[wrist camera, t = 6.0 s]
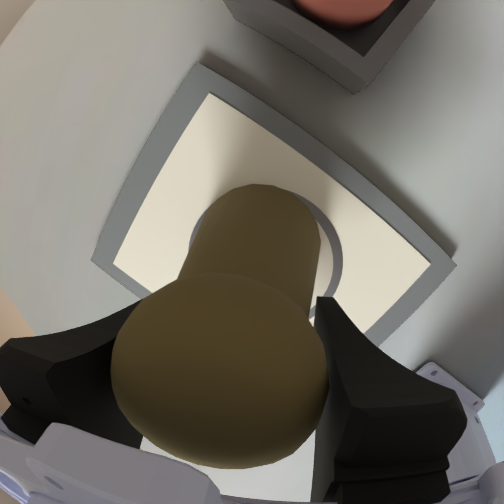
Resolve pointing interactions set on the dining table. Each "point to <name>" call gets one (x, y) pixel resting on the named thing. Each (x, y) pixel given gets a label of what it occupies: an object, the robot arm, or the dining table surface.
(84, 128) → the dining table surface
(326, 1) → the button
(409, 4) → the button base
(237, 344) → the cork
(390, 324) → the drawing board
